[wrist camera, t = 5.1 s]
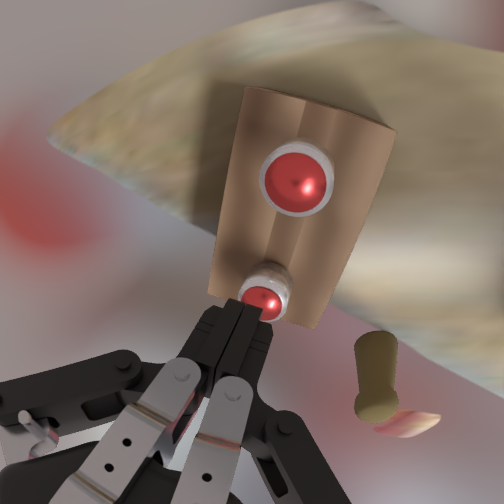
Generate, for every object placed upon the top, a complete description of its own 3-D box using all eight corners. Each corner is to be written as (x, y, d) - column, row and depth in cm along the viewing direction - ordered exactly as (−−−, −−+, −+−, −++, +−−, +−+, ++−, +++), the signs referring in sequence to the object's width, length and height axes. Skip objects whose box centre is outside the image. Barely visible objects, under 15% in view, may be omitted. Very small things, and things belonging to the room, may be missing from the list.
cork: (344, 347, 37) (338, 417, 28) (378, 323, 34) (380, 397, 25) (373, 366, 38) (372, 433, 29) (406, 345, 35) (412, 415, 25)
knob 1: (303, 253, 30) (292, 294, 24) (291, 286, 32) (278, 329, 27) (261, 239, 30) (241, 277, 25) (252, 273, 33) (232, 314, 27)
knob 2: (341, 142, 21) (343, 160, 15) (325, 192, 23) (320, 228, 18) (286, 125, 21) (267, 137, 16) (273, 176, 24) (251, 206, 18)
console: (387, 125, 23) (397, 132, 19) (319, 300, 35) (314, 329, 31) (260, 87, 25) (244, 86, 20) (223, 268, 36) (207, 293, 32)
